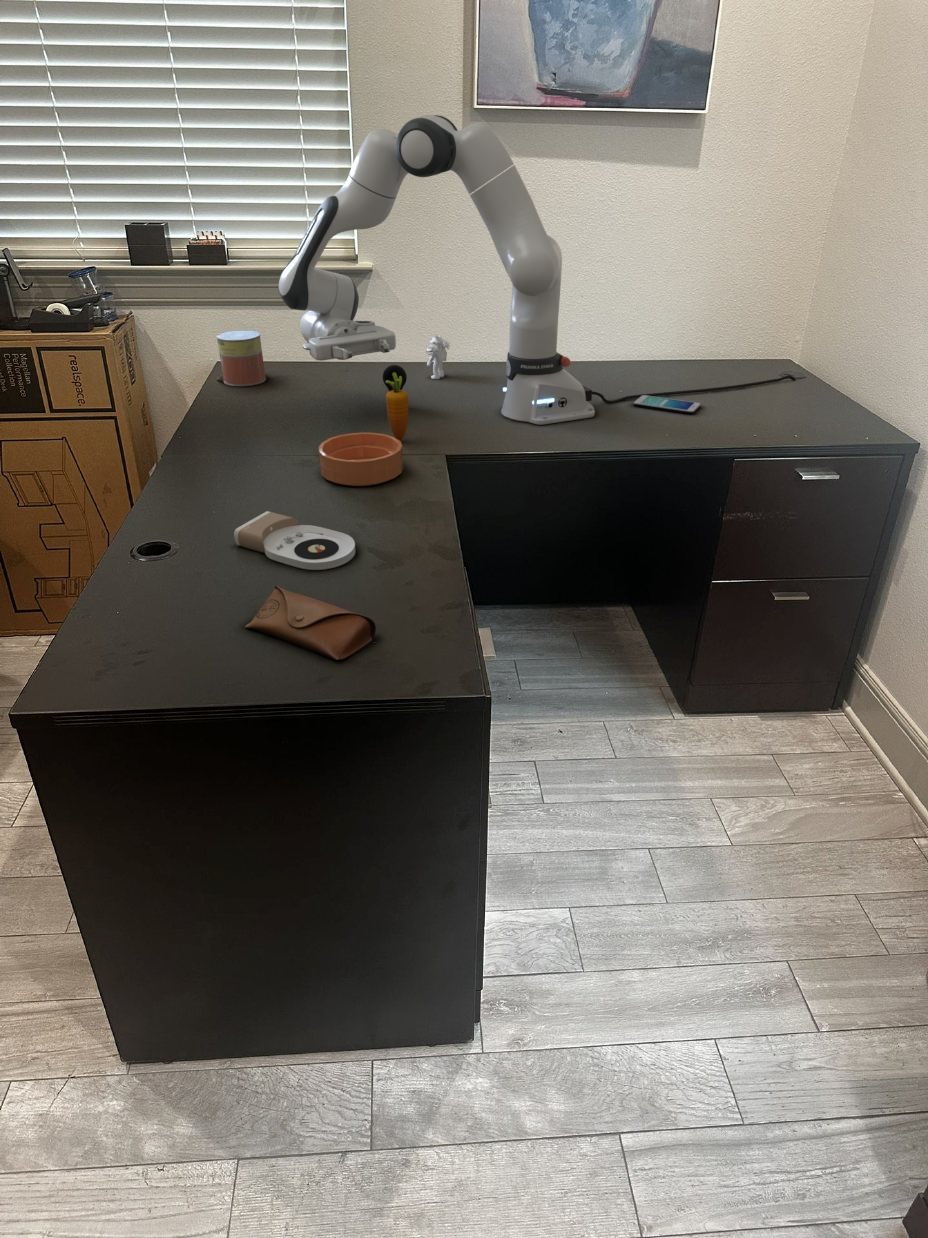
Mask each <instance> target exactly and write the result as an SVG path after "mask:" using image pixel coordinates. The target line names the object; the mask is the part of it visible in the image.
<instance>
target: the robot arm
mask: <svg viewBox="0 0 928 1238" xmlns="http://www.w3.org/2000/svg"><path fill="white" fill-rule="evenodd" d="M449 171H452V172H453V173H455V174H456V175H457V177H459V179H460V180H461V182H462V184H463V186H464V188H465V189H466V192H467V193H468V195H469V197H470V199H471V201H472V203H473V204H474V206H475V208H476V210H477V212H478V214H479V216H480V217H481V219H482V221H483V223H484V225H485V227H486V229H487V231H488V232H489V235H490V238H491V240H492V243H493V245H494V248H495V249H496V252H497V254H498V256H499V258H500V261H501V263H502V265H503V268H504V269H505V271H506V273H507V276H508V278H509V280H510V282H511V284H512V287H511V301H510V302H511V303H510V313H509V343H508V344H509V345H508V346H509V347H508V352H507V355H506V365H505V366H506V368H505V370H506V371H505V373H506V377H507V382H506V387H502V391H503V392H505V395H504V400H503V403H502V406H501V410H500V413H501V415H502V416H504V417H505V418H508V419H510V420H514V421H520V422H526V423H530V424H535V425H540V426H542V425H551V424H555V423H562V422H568V421H569V422H570V421H575V420H583V419H588V418H594V416H595V415H596V411H595V410H596V409H595V407H594V406H593V404H592V403H590V402H592V399H593V398H592V397H593V395H595V396H597V397H599V398H600V399H601V400H602V401H603V402H604V403H606V404H616V403H619V402H623V401H627V400H630V399H639V398H640V397H641V396H642V395H647V396H654V397H661V396H671V395H684V394H685V395H686V394H693V393H694V394H697V393H704V392H714V391H722V390H723V391H724V390H733V389H741V388H745V387H746V388H747V387H752V386H759V385H764V384H765V385H766V384H770V383H777V382H781V381H783V380H788V379H791V380H792V381H795V382H796V381H797V380H796V377H794V376H793V375H785V376H781V377H779V378H773V379H767V380H762V381H755V382H749V383H743V384H742V383H741V384H735V385H727V386H726V385H725V386H718V387H717V386H716V387H709V388H700V389H688V390H676V391H666V392H663V391H662V392H651V393H642V394H641V393H640V394H632V395H626V396H623V397H620V398H617V399H614V400H610V399H609V400H608V399H606V398H605V396H604V395H603V394H602V393H600V392H597V391H594V390H592V389H591V388H589V387H587V386H585V385H583V384H582V383H581V382H580V381H579V380H578V379H577V378H575V376H573V375H571V373H569V372H568V371H567V370H566V369H564V368H568V367H569V366H570V365H571V363H572V361H571V359H570V358H569V357H568V356H564V355H563V354H561V353H559V352H557V349H558V332H559V331H558V330H559V329H558V328H559V313H560V301H561V300H560V299H561V285H562V273H563V271H562V270H563V254H562V253H563V252H562V249H561V247H560V245H559V243H558V242H557V240H555V239H554V238H553V237H552V236H550V235H548V234H547V232H546V230H545V227H544V224H543V223H542V221H541V218H540V215H539V213H538V211H537V209H536V206H535V203H534V200H533V199H532V196H531V194H530V192H529V191H528V188H527V187H526V185H525V182H524V180H523V179H522V177H521V175H520V173H519V171H518V169H517V167H516V165H515V163H514V161H513V159H512V157H511V156H510V154H509V153H508V150H507V149H506V147H505V146H504V144H503V143H502V142H501V140H500V139H499V137H498V135H497V134H496V133H495V132H494V130H493V129H492V128H491V126H489V125H488V124H486V123H483V122H475V123H471V124H469V125H466V126H465V127H463V128H462V129H460V130H458V128H457V127H456V125H455V124H454V123H453V122H452V120H450V119H449V118H447V117H445V116H443V115H437V114H424V115H420V116H418V117H415V118H411V119H410V120H408V121H407V122H405V124H404V125H403V126H402V127H401V128H400V130H399V132H398V133H395V132H394V131H392V130H389V129H386V128H376V129H372V130H371V131H370V132H368V134H367V135H366V137H365V139H364V140H363V142H362V144H361V146H360V147H359V150H358V151H357V154H356V155H355V157H354V160H353V162H352V165H351V168H350V170H349V173H348V176H347V178H346V180H345V182H344V183H343V185H342V186H341V187H340V188H339V190H338V191H337V192H336V193H334V194H333V195H331V196H328V197H326V198H325V199H324V200H323V201H322V203H321V204H320V206H319V207H318V209H317V210H316V213H315V215H314V216H313V218H312V219H311V222H310V223H309V225H308V227H307V229H306V231H305V233H304V235H303V237H302V238H301V241H300V242H299V244H298V247H297V248H296V250H295V252H294V255H293V256H292V257H291V258H290V260H289V262H288V263H287V264H286V266H284V268H283V270H282V272H281V274H280V277H279V278H278V279H279V280H278V285H277V287H278V294H279V296H280V298H281V299H282V301H283V303H284V304H285V305H286V306H287V307H288V308H289V309H290V310H297V311H306V312H305V313H303V315H302V316H301V318H300V322H299V331H300V333H301V335H302V337H303V339H304V340H305V341H306V342H305V343H303V344H302V349H304V350H305V351H309V355H310V356H311V358H313V359H314V360H315V361H322V362H323V361H329V360H335V359H336V360H340V361H346V360H349V359H352V358H353V357H355V356H360V355H366V354H367V355H368V354H374V353H379V352H380V353H382V354H385V353H390V351H393V350H395V349H396V347H397V337H396V333H395V332H394V331H392V330H390V329H388V328H386V327H384V326H381V325H376V323H375V321H372V320H354V319H355V317H356V315H357V312H358V309H359V301H360V296H359V291H358V289H357V286H356V283H355V282H354V280H353V279H352V278H351V276H348V275H345V274H341V273H338V272H333V271H329V270H325V269H321V268H318V267H316V266H317V264H318V262H319V260H320V258H321V257H322V254H323V253H324V251H325V249H326V247H327V245H328V243H329V242H330V241H331V239H333V237H335V236H336V235H339V234H341V233H346V232H349V231H354V230H355V231H356V230H357V231H358V230H369V229H372V228H375V227H377V226H379V225H380V224H382V223H384V222H385V220H386V219H388V217H389V215H390V214H391V211H392V209H393V207H394V204H395V202H396V199H397V196H398V193H399V191H400V189H401V186H402V184H403V181H404V179H405V178H406V176H407V175H412V176H414V177H417V178H428V177H433V176H438V175H440V174H443V173H447V172H449Z"/></svg>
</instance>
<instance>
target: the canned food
mask: <svg viewBox="0 0 928 1238" xmlns="http://www.w3.org/2000/svg"><path fill="white" fill-rule="evenodd" d="M216 340H217V346H218V354H219V359H220V366H221V371H222V378H223V383H224V384H225V385H226V386H230V387H248V386H255V385H260V384H262V383H264V382H265V381H266V380H267V377H266V372H265V363H264V357H263V356H264V355H263V349H262V341H261V333H260V332H259V331H256V330H248V329H247V330H246V329H242V330H241V329H240V330H229V331H224V332H221V333H218V334H217V335H216Z"/></svg>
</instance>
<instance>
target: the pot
mask: <svg viewBox="0 0 928 1238" xmlns="http://www.w3.org/2000/svg"><path fill="white" fill-rule="evenodd" d="M318 459H319V460H318V461H319V468H320V475H321V477H323V478H324V479H325V480H327V481H329V482H332V483H334V484H339V485H344V486H352V487H364V486H373V485H379V484H382V483H386V482H389V481H391V480H393V479H396V478H397V477H398V476H399V475H401V474H402V472H403V470H404V452H403V444H402V441H399V440H398V439H396V438H395V436H393V435H389V434H385V433H378V432H353V433H351V432H350V433H344V434H339V435H336V436H332V437H329V438H327V439H326V440H324V441H322V442H321V443H320V444H319V446H318Z"/></svg>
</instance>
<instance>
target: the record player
mask: <svg viewBox="0 0 928 1238" xmlns="http://www.w3.org/2000/svg"><path fill="white" fill-rule="evenodd" d="M233 537H234V538H233V539H234V543H235V545H236V546H239V547H242V548H246V549H249V550H253V551H256V552H258V553H259V552H260V553H262V554H263V553H264V554H265V556H266V557H267V558H268V559H270V560H272V561H275V562H277V563H278V562H279V563H280V564H284V565H287V566H292V567H295V568H298V569H303V570H307V571H308V570H309V571H320V570H328V569H334V568H337V567H340V566H343V565H344V564H347V563H349V562H350V561H351V560H352V559H353V558H355V557H354V556H355V555H356V542H355V540H354V539H353V537H352V536H350V535H348V534H346V533H344V532H340V531H337V530H333V529H329V528H326V527H321V526H317V525H310V524H309V525H308V524H299V520H298V519H296V518H295V517H291V516H288V515H284V514H279V513H276V512H272V511H268V510H266V511H264V512H263V513H261V514H259V515H258V516H256V517H254V518H251V520H249V521H247V522H245V523H244V524H242V525H240V526H238V527H236V528H235V530H234V532H233Z"/></svg>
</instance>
